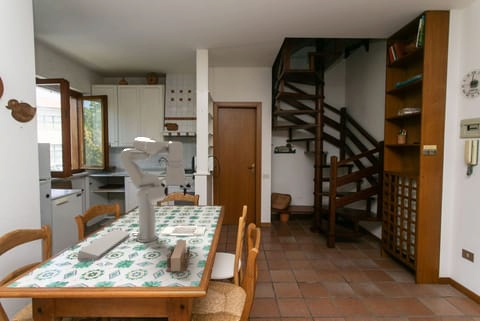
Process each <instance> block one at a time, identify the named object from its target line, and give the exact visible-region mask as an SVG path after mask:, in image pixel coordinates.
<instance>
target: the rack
mask: <svg viewBox="0 0 480 321" xmlns="http://www.w3.org/2000/svg"><path fill="white" fill-rule="evenodd" d="M174 249H175V247H174V246H171V249H170V254H168V255H167V258H166V269H165V271H166V272H172V271H171V257H172V254H173V252H174ZM190 250H191V248H190V246H187V247H186V252H185V255H184V259H183V262H182V266H181V269H180V271H179V272H186V271H187V269H188V265H189V261H190V258H191V257H190V256H191V251H190Z"/></svg>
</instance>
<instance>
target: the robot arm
mask: <svg viewBox="0 0 480 321" xmlns="http://www.w3.org/2000/svg"><path fill="white" fill-rule="evenodd" d="M183 146H184V145H183V143H182V142H181V141H166V140H164V141H163V140H156V139H155V138H153V137H140V136H139V137H137V138H135V139H134V140H133V141H132V147H133V148H125V149H123V150H122V151H121V152H120V154H119V160H120V163H121V166H122V168H124V170H125V171H126V173H127V174H128V176H129V178H130V180H131V183H132V185H133V186H134V188H135V189H137V190H138V191H137V193H136V199H137V204H138V231H132V233H131V236H133V237H136V241H137V242H138V243H139V242H140V243H150V242H153V241H156V240H158V239H159V235H158V234H157V233H156V232H157V231H156V228H157V227H156V208H155V206H154V205H153V203H158V202H161V201H164V200H165V198H166V197H167V196H168V195H169V189H168V186H182V187H183V196H185V197H186V195H187V192H188V190H187V189H188V187H189V186H190V184H191V183H192V180H193V179H191V178H189V177H186V172H185V167H184V166H183V163H184V161H183V154H184V153H183V148H184V147H183ZM152 155H154V156H156V155H157V156H164V155H165V156H166V155H167V156H168V158H167V160H168V161H166V162H165V165H166V171H165V177H163V178H161V179H160V177H159V176H158V175H157V174H155V173H154V172H149V173H145V172H144V171H143V169H142V167H141V166H140V165H139V164H137V163H136V162H138V163H139V162H145V161H148V160H149V159H150V158H151V156H152ZM164 181H165V183H164ZM186 181H187V184H186Z"/></svg>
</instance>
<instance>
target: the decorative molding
mask: <svg viewBox="0 0 480 321" xmlns="http://www.w3.org/2000/svg"><path fill="white" fill-rule="evenodd" d="M130 234H131V233H130V232H129V231H123V230H121V229H118V228H117V229H116V228H115V229H113V230H111V231H110V232H107V233H106V234H105V235H102V236H101V237H99V238H98V239H96V240H94V241H93V242H91V243H90V244H88V245H86V246H84V247H83V248H81V249H79V250H78V254H77V258H79V259H78V260H84V259H87V260H88V259H89V260H97V259H99V258H100V257H102V256H103V255H105V254H106V253H107V252H108V250H109V251H110V250H111V249H113V248H114V247H116V246H117V245H118V244H120V243H121V242H122V241H124V240H125V239H126V238H128V237H129V236H130ZM119 242H120V243H119Z"/></svg>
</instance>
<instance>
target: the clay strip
mask: <svg viewBox="0 0 480 321" xmlns="http://www.w3.org/2000/svg"><path fill="white" fill-rule="evenodd" d="M185 253H187V241H186V239H179V240H177V242H176V245H175V247H174V252H173V254H172V257H171V271H170V272H181V271H180V269H181V266H182V262H183V259H184V255H185Z"/></svg>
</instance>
